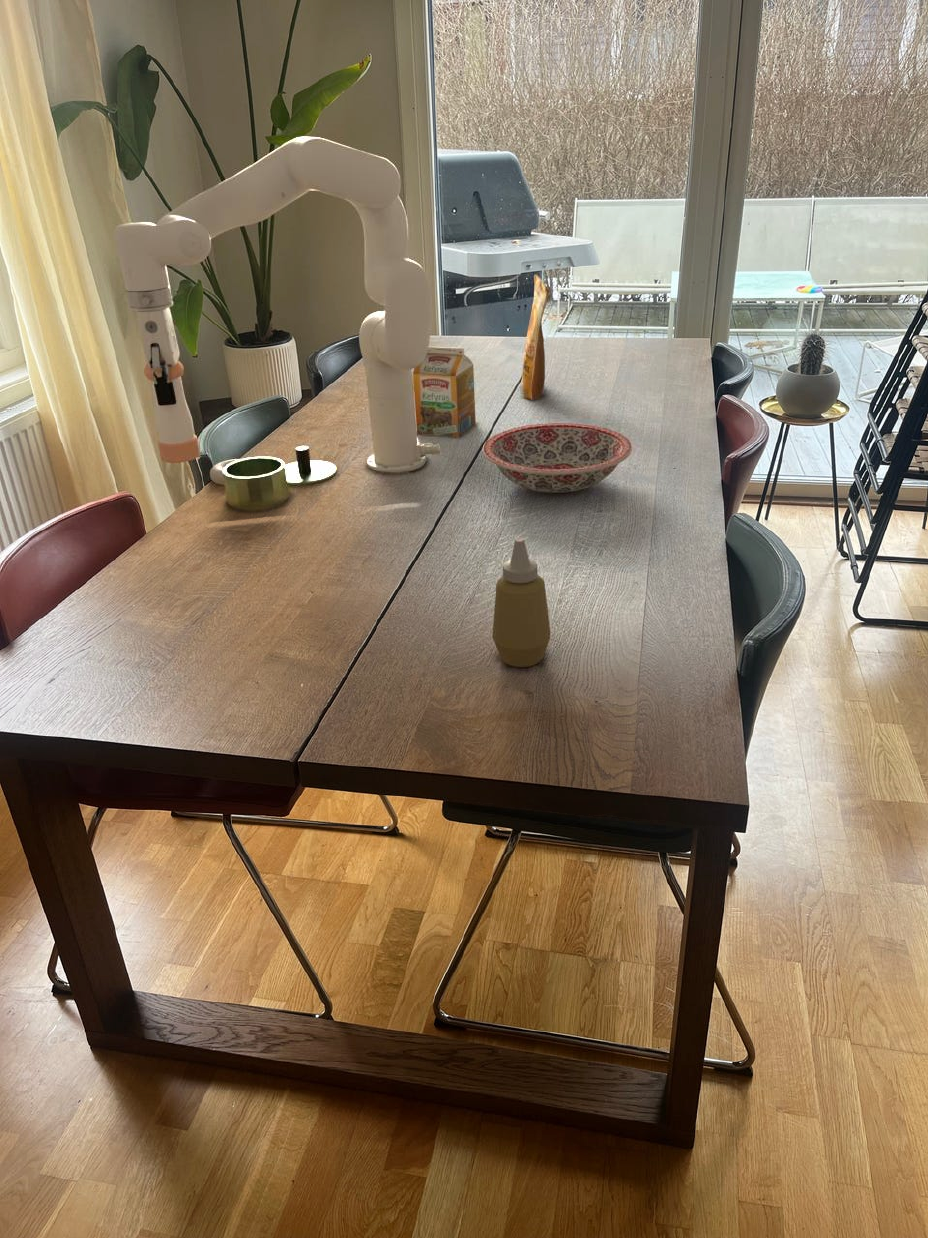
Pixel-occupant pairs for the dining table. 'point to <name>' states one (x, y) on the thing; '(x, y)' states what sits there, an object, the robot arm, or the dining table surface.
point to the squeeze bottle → (521, 611)
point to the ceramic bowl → (557, 455)
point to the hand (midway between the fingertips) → (169, 398)
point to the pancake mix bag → (535, 345)
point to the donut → (220, 471)
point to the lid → (308, 469)
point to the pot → (255, 482)
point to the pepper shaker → (174, 421)
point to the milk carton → (444, 393)
